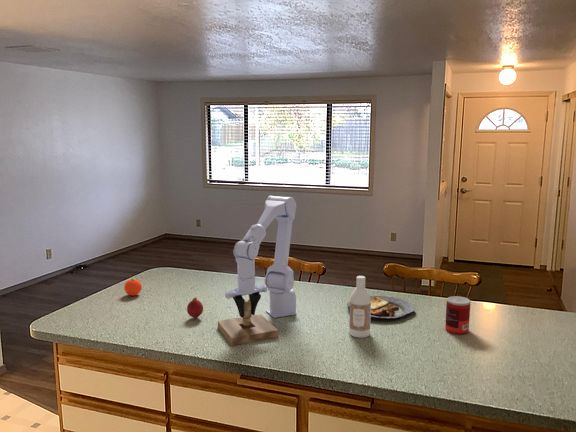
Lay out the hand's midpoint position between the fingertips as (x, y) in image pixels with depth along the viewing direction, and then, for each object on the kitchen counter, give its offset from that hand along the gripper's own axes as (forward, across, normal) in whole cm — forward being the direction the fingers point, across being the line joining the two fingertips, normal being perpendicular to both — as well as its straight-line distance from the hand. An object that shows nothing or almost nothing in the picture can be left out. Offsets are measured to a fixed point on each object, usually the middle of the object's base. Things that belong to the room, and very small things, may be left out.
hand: (246, 315), depth 170 cm
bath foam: (+6, -32, +20) cm, 39 cm away
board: (+6, 0, 0) cm, 6 cm away
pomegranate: (+6, +11, -21) cm, 25 cm away
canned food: (+6, -63, +34) cm, 72 cm away
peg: (+3, 0, 0) cm, 3 cm away
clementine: (+6, +25, -60) cm, 65 cm away
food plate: (+7, -53, +6) cm, 53 cm away
